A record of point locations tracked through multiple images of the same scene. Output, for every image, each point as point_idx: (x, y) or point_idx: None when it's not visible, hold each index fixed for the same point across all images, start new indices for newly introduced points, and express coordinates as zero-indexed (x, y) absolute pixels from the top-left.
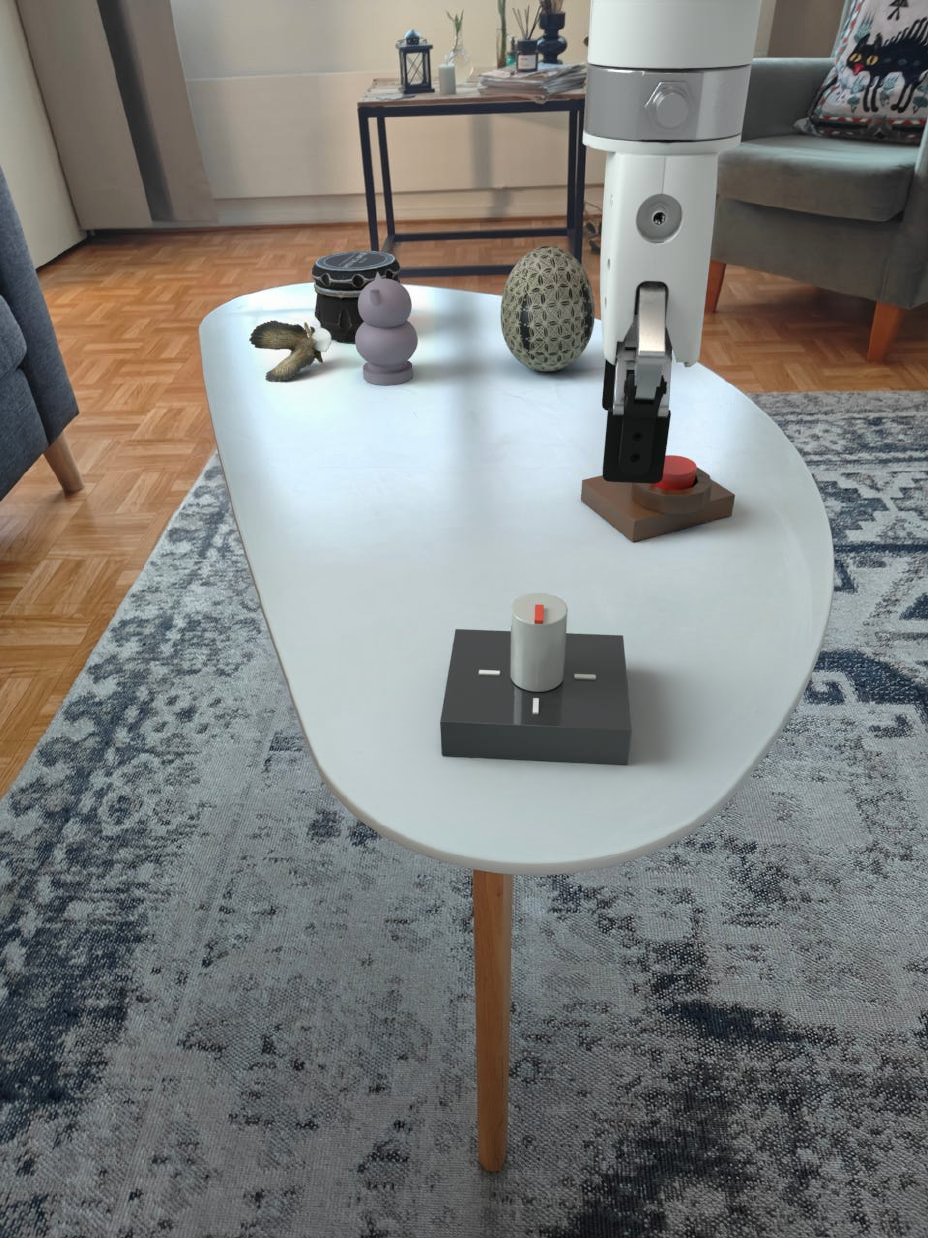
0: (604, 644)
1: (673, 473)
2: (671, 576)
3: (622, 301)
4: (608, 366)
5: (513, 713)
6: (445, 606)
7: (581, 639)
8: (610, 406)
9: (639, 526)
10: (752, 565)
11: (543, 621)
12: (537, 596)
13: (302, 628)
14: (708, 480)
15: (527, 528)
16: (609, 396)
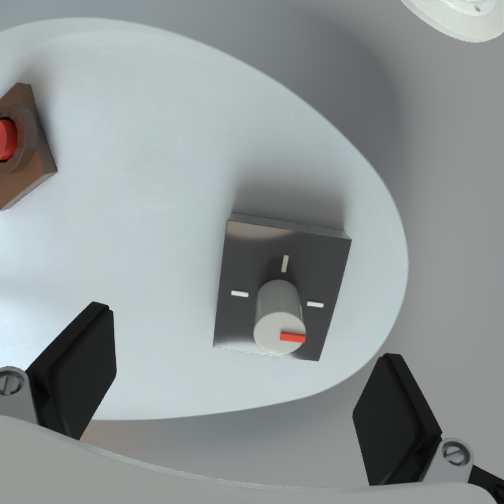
0: (239, 238)
1: (4, 142)
2: (103, 143)
3: None
4: (86, 424)
5: (319, 318)
6: (149, 330)
7: (231, 257)
8: (114, 371)
9: (47, 168)
10: (94, 72)
11: (302, 334)
12: (260, 334)
13: (181, 407)
14: (7, 107)
15: (45, 256)
16: (106, 383)
